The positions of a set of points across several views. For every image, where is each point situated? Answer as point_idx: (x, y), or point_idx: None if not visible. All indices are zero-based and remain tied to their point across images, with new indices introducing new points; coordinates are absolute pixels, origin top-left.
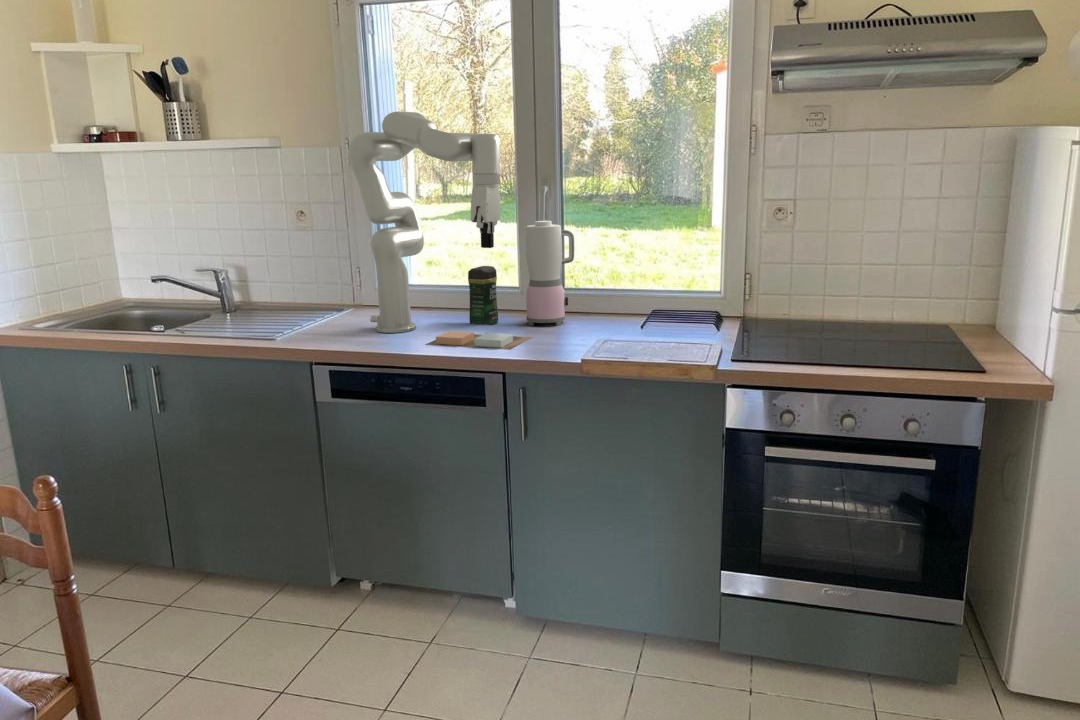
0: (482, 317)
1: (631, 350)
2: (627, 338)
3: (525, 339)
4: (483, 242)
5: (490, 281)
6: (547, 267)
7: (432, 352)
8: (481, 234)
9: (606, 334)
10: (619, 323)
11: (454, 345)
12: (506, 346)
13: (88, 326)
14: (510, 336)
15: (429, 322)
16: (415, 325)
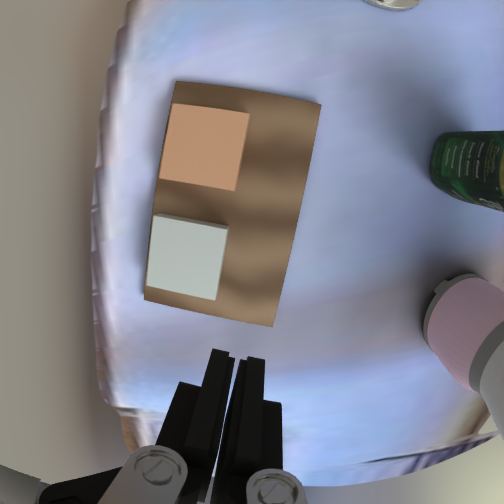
0: (440, 170)
1: None
2: (293, 458)
3: (247, 316)
4: (176, 398)
5: None
6: (493, 410)
7: (134, 118)
8: (186, 439)
9: (329, 432)
10: (417, 430)
11: None
12: None
13: None
14: (200, 296)
15: (462, 36)
16: (393, 6)
